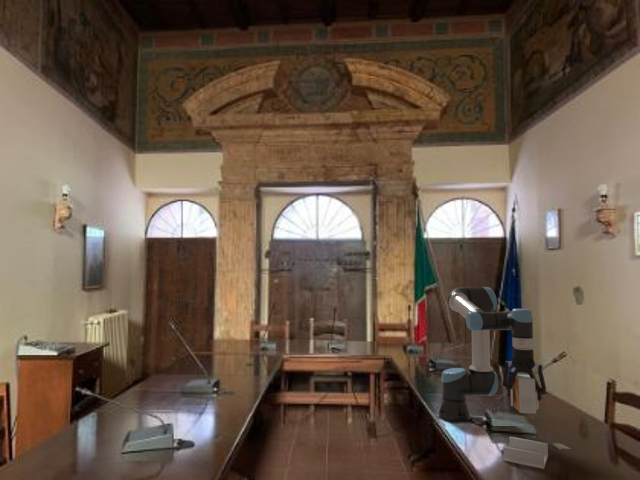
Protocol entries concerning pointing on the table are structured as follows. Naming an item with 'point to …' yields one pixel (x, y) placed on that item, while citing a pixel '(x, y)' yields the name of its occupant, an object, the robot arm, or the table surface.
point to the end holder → (526, 452)
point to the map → (560, 446)
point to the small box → (524, 394)
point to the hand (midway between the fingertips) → (524, 406)
